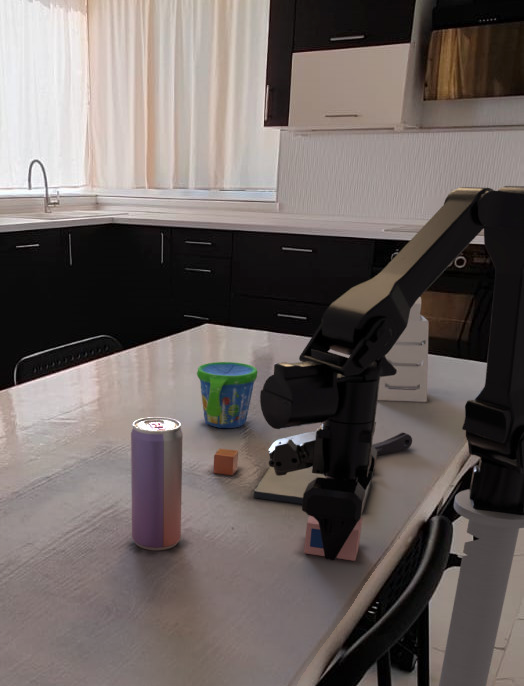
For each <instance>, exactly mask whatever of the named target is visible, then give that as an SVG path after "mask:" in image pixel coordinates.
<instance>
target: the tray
mask: <svg viewBox="0 0 524 686" xmlns="http://www.w3.org/2000/svg"><path fill="white" fill-rule="evenodd" d="M317 477H321V478H326V477H325V475H324V474H315V473H312V468H311V467H309V468H306V469H301V470H297V471H292V472H288V473H287V474H286V475H281V476H277V475H276V474H275V470H274V467H271V466H270V465H269V468H268V469H267V471H266V472H265V474H264V475H263V477H262V478H261V480H260V481H259V483H258V485H257V486H256V487H255V489H254V490H253V498H254V499H262V500H268V501H274V502H275V501H276V502H283V503H284V502H285V503H291V504H297V505H302V504H303V494H304V492H305V490H306V488H307V486H308V484H309V483H310V482H311V481H313V480H314V479H316V478H317ZM372 481H373V478H372V479H371V481H370V482H369V484H368V486H367V488H366V490H365V491H366V493H365V501H364V507H363V511H362V513H364V510H365V507H366V503H367V500H368V496H369V493H370V489H371V485H372Z"/></svg>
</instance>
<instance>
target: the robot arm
mask: <svg viewBox="0 0 524 686" xmlns="http://www.w3.org/2000/svg"><path fill="white" fill-rule="evenodd" d="M482 231H483V242H484V243H483V244H484V247H485V249H486V252H487V253H488V255H489V258H490V260H491V262H492V264H493V266H494V268H495V269H494V271H495V273H494V275H495V276H494V285H493V293H492V294H493V295H492V297H493V298H492V305H491V306H492V307H491V315H490V316H491V317H490V326H489V337H488V338H489V339H488V348H487V357H486V358H487V359H486V369H485V370H486V371H485V381H484V386H483V388H482V389H481V390H480V391H479V393H478V394H477V395H476V397H475V398H474V399H469V400H467V401H466V403H465V405H464V415H465V416H464V421H463V425H462V430H463V431H465V438H466V440H467V446H468V447H467V448H468V454H469V455H471V456H476V457H478V458H479V462H478V465H477V464H475V465H474V466H473V469H472V474H471V482H470V485H469V489H470V491H469V498H470V500H472V504H473V508H474V509H478V510H486V511H494V512H501V513H509V514H517V515H524V185H505V186H502V187H500V188H498V190H494V189H493V188H492V187H491V188H490V187H476V186H475V187H471V186H470V187H469V186H462V187H458V188H457V189H454V190H452V191H450V192H449V193H448V195H447V196H446V198H445V199H444V203H443V205H442V206H441V207H440V208H439V209H438V210H437V211H436V212H435V213H434V215H432V217H431V218H430V219H429V220H428V221H427V222H426V223H425V224H424V225H423V226H422V228H420V229H419V231H418V232H417V233H416V234H415V235H414V236H413V237H412V238H411V239H410V240H409V241H408V243H406V244H405V246H403V247H402V249H401V250H400V251H399V252H398V253H397V254H396V255H395V256H394V257H393V259H391V261H390V262H388V264H387V265H385V267H383V269H382V270H381V271H380V272H379V273H377V275H375V276H374V277H372V278H370V279H369V280H366V281H364V282H361V283H359V284H357V285H355V286H353V287H351V288H349V290H347V291H346V292H345V293H343V294H342V295H340V297H338V298H336V300H334V301H333V302H331V304H330V305H328V307H327V308H326V309H325V311H324V313H323V315H322V317H321V323H320V324H319V326H318V327H317V329H316V330H315V331H314V333H313V334H312V336H311V338H310V340H309V341H308V342H307V344H306V346H305V347H304V349H303V351H302V352H301V353H300V355H299V356H298V360H299V362H288V361H287V362H286V361H282V362H276V363H275V364H274V365H273V374H271V375H270V376H268V377H267V378H266V380H265V382H264V384H263V386H262V389H261V390H260V392H259V393H260V394H259V399H260V400H259V402H260V403H259V404H260V409H261V413H262V416H263V418H264V420H265V421H266V423H267V424H268V426H270V427H271V428H273V429H274V430H284V429H290V428H296V427H302V426H303V427H304V426H308V425H313V424H314V425H315V424H320V426H319V427H317V429H316V430H315V431H308V432H303V433H300V434H299V433H298V434H295V435H290V436H286V437H281V438H278V439H277V440H275V441H274V442H272V444H271V446H270V447H269V448H268V455H269V461H268V465H269V467H270V466H271V467H274V470H275V474H276V475H277V476H281V475H286V474H287V473H288V472H292V471H297V470H301V469H306V468H311V469H312V473H315V474H324V475H325V477H326V478H321V477H317V478H316V479H314V480H313V481H311V482H310V483H309V484H308V486H307V488H306V490H305V492H304V494H303V504H301V505H302V506H301V507H302V508H301V511H302V512H304V513H306V515H307V516H309V517H310V516H313V517H314V518H315V519H316V520H317V521H318V523H319V527H320V532H321V538H322V543H323V549H324V555H325V556H324V559H325V560H328V561H329V560H330V561H336V559H337V558H336V557H337V555H338V554H339V552H340V550H341V549H342V547H343V545H344V544H345V542H346V540H347V539H348V537H349V535H350V534H351V532H352V531H353V529H354V527H355V526H356V524H357V522H358V521H359V520H360V518H361V517H362V515H363V512H364V511H363V507H364V501H365V493H366V491H365V490H366V488H367V486H368V484H369V482H370V481H371V479H372V480H373V475H374V472H375V470H374V468H375V469H376V464H377V456H378V455H377V450H376V449H375V447H374V446H373V440H374V435H375V432H376V424H377V422H376V416H377V407H378V401H379V400H378V392H379V384H380V377H385V376H393V375H395V374H396V372H397V370H396V369H395V368H394V367H393V366H392V365H391V364H390V363H389V362H388V361H387V359H386V357H385V355H386V354H387V353H388V352H389V351H390V350H391V348H392V347H393V346H394V344H395V343H396V341H397V340H398V339H399V337H400V336H401V334H402V333H403V331H404V330H405V329H406V327H407V324H408V319H409V314H410V309H411V308H412V306H413V305H414V303H415V302H416V301H417V299H418V298H419V297H421V296H423V294H424V293H425V292H426V291H427V290H428V289H429V287H431V286H432V284H434V282H435V281H436V280H437V279H438V278H439V277H440V276H441V275H442V274H443V273H444V271H446V269H448V267H449V266H450V265H451V264H452V263H453V262H454V261H455V259H457V258H458V257H459V256H460V254H461V253H462V252H463V251H464V250H465V249H466V248H467V247H468V246H469V245H470V244H471V243H472V242H473V241H474V239H476V237H477V236H478V235H479V234H480V232H482ZM330 350H331V351H334V352H336V353H333V352H330ZM337 353H340V354H343V355H346V356H349V357H346V356H343V355H340V354H337ZM373 471H374V472H373ZM364 508H365V507H364ZM362 511H363V512H362Z"/></svg>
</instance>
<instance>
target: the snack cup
mask: <svg viewBox="0 0 524 686" xmlns="http://www.w3.org/2000/svg"><path fill="white" fill-rule="evenodd" d="M196 375H197V378H198V380H199V382H200V393H201V403H202V409H203V418H204V422H205V425H210V426H212V427H214V428H219V429H235V428H240V427H242V426H243V425H245V423H246V421H247V419H248V414H249V410H250V405H251V400H252V395H253V390H254V384H255V381H256V379H257V377H258V369H257V367H255V366H254V365H251V364H247V363H243V362H235V361H234V362H233V361H218V362H217V361H216V362H208V363H204V364H200V365H199V366H198V368H197V371H196Z"/></svg>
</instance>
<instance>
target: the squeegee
mask: <svg viewBox="0 0 524 686" xmlns="http://www.w3.org/2000/svg"><path fill="white" fill-rule="evenodd" d="M412 444H413V437H412V436H411V434H409V433H406V432H400V433H398V434H396V435H394V436H392V437H389V438H387V439H385V440H383V441H380V442H376V443H374V444H373V443H372V445H373V446H374V447H375V449H376V450H377V456H378V455H384V454H390V453H395V452H401V451H402V452H403V451H405V450H408V449H410V447H411V446H412ZM375 470H376V467H375V468H374V471H373V473H374V472H375Z"/></svg>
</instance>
